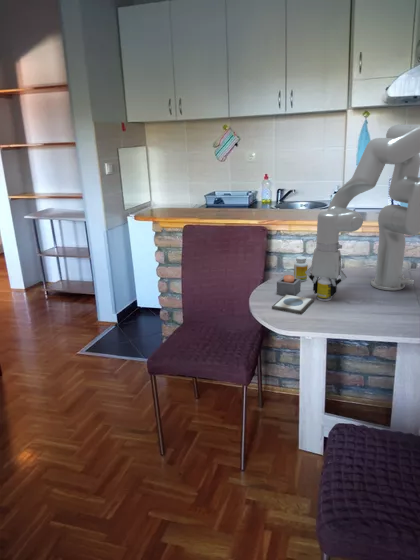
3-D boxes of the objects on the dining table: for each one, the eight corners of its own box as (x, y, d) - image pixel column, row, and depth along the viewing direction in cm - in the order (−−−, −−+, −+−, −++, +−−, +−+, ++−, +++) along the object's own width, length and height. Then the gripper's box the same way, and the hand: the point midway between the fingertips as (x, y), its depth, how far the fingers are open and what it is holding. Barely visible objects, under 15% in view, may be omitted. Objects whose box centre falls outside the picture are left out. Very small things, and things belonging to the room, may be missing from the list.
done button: (295, 283, 174) (295, 275, 173) (291, 286, 171) (292, 279, 170) (285, 281, 176) (285, 274, 175) (281, 284, 173) (282, 277, 172)
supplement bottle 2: (329, 302, 164) (330, 276, 161) (314, 299, 167) (315, 274, 164) (333, 297, 169) (335, 272, 165) (319, 294, 171) (320, 270, 168)
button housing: (300, 291, 176) (300, 278, 174) (293, 297, 170) (294, 284, 169) (283, 288, 179) (283, 276, 178) (276, 294, 174) (276, 281, 172)
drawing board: (313, 301, 165) (313, 298, 165) (301, 314, 155) (301, 311, 155) (285, 296, 171) (285, 293, 170) (271, 308, 160) (271, 305, 160)
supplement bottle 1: (291, 278, 189) (291, 257, 186) (301, 276, 192) (302, 255, 188) (299, 282, 185) (299, 260, 182) (309, 280, 187) (310, 258, 184)
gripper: (354, 246, 160) (350, 294, 166) (307, 241, 168) (305, 287, 174) (348, 251, 154) (345, 301, 160) (300, 246, 162) (298, 293, 168)
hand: (324, 293), depth 167 cm, fingers closed on supplement bottle 2, 5 cm apart
